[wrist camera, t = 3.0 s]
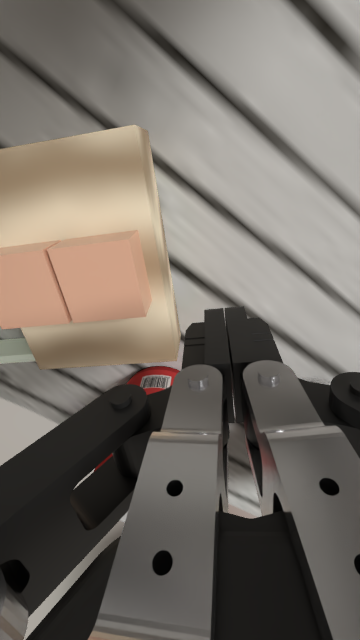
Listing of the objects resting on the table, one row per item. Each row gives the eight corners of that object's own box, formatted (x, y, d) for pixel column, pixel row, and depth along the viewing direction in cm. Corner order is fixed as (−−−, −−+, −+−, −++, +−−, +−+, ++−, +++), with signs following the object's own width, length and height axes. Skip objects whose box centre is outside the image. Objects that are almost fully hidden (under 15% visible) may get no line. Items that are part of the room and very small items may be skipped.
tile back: (-7, 248, 20) (-34, 259, 18) (60, 239, 19) (42, 250, 17) (22, 312, 22) (1, 329, 20) (83, 307, 21) (69, 323, 19)
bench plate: (-14, 159, 21) (-58, 159, 17) (147, 131, 19) (134, 124, 16) (60, 343, 28) (39, 369, 25) (180, 334, 27) (176, 360, 23)
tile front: (65, 239, 19) (46, 249, 17) (137, 229, 18) (128, 239, 16) (86, 306, 21) (73, 323, 19) (152, 300, 21) (145, 316, 19)
